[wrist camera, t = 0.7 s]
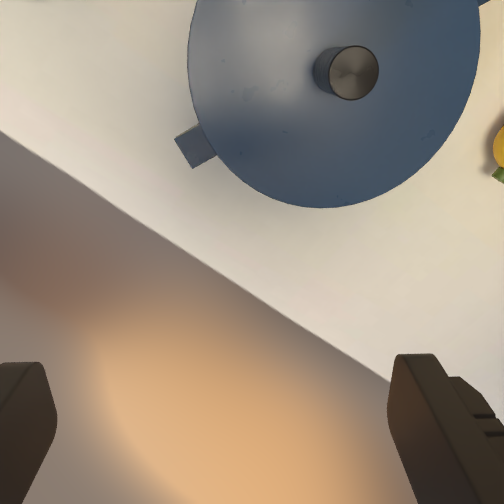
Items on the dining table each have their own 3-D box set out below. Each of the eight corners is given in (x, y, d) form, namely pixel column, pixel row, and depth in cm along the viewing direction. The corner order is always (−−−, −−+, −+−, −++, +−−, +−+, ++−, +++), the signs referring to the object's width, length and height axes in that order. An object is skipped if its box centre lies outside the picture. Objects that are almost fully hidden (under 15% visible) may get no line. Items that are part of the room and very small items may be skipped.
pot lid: (132, 6, 26) (97, -10, 20) (416, -186, 22) (479, -277, 16) (271, 244, 32) (277, 286, 26) (504, 126, 29) (571, 144, 23)
